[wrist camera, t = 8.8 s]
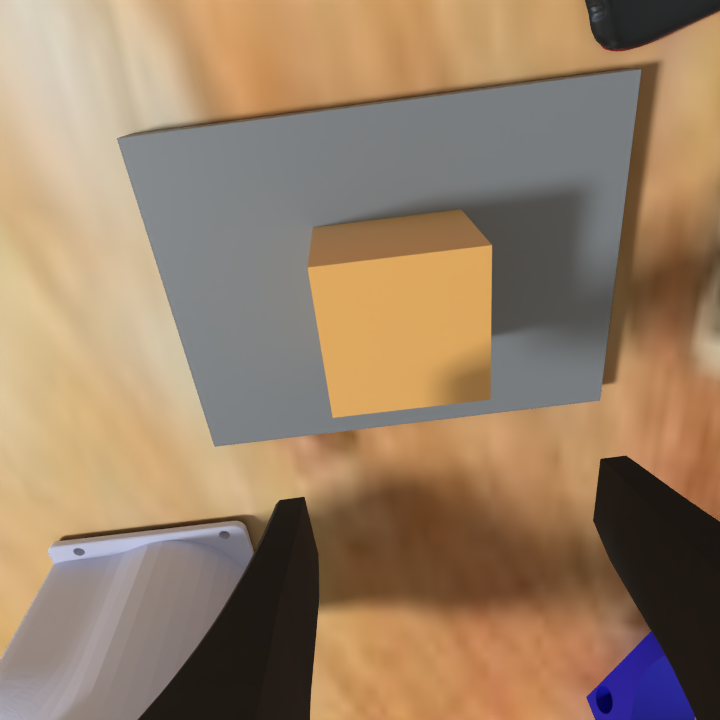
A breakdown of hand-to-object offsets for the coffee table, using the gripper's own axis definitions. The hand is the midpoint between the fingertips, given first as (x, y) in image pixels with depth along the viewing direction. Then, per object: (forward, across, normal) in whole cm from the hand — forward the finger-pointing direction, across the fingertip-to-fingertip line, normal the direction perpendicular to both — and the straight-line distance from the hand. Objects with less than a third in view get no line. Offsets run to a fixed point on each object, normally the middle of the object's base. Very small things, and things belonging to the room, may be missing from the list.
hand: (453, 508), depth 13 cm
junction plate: (+9, 0, -3) cm, 10 cm away
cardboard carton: (+8, 0, -3) cm, 9 cm away
